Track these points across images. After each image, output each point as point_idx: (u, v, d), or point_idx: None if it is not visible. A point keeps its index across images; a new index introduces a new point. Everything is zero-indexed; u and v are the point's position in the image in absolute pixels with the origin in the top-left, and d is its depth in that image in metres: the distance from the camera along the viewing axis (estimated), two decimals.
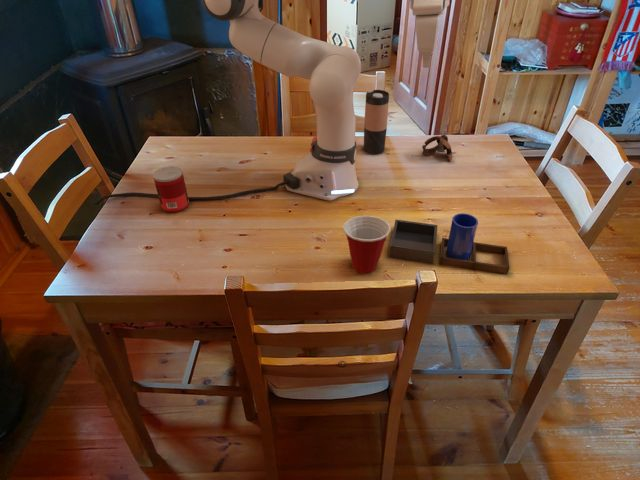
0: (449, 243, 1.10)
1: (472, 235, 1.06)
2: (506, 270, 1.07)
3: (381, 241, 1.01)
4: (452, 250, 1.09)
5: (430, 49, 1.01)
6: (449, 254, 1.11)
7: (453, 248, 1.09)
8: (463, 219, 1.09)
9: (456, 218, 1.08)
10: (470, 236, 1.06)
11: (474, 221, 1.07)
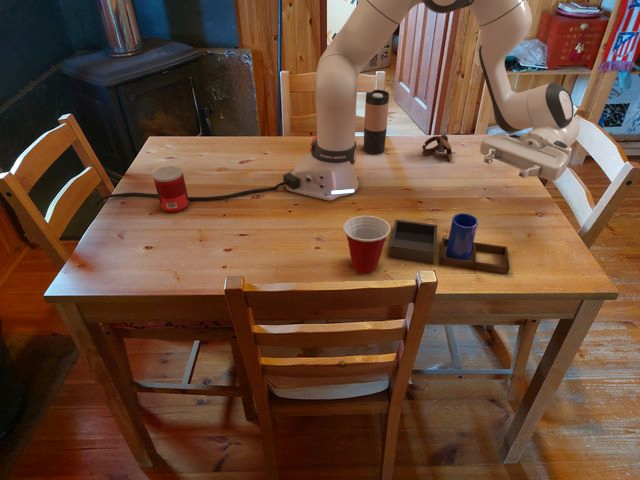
0: (449, 243, 1.10)
1: (472, 235, 1.06)
2: (506, 270, 1.07)
3: (381, 241, 1.01)
4: (452, 250, 1.09)
5: (554, 178, 1.04)
6: (449, 254, 1.11)
7: (453, 248, 1.09)
8: (463, 219, 1.09)
9: (456, 218, 1.08)
10: (470, 236, 1.06)
11: (474, 221, 1.07)
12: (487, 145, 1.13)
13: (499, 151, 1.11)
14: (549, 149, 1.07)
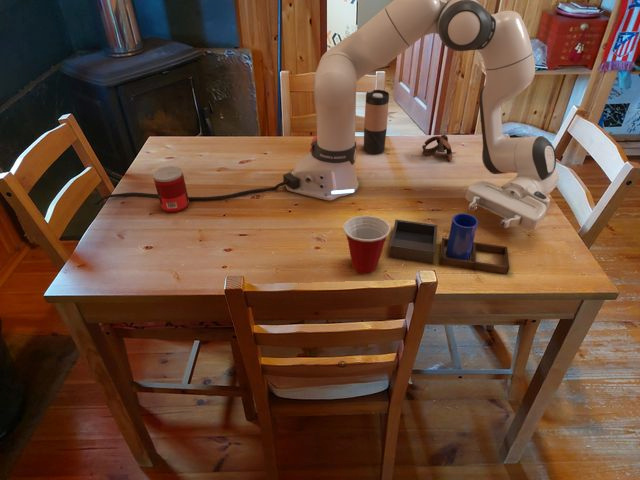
0: (449, 243, 1.10)
1: (472, 235, 1.06)
2: (506, 270, 1.07)
3: (381, 241, 1.01)
4: (452, 250, 1.09)
5: (533, 228, 1.11)
6: (449, 254, 1.11)
7: (453, 248, 1.09)
8: (463, 219, 1.09)
9: (456, 218, 1.08)
10: (470, 236, 1.06)
11: (474, 221, 1.07)
12: (471, 193, 1.20)
13: (483, 199, 1.18)
14: (529, 199, 1.14)
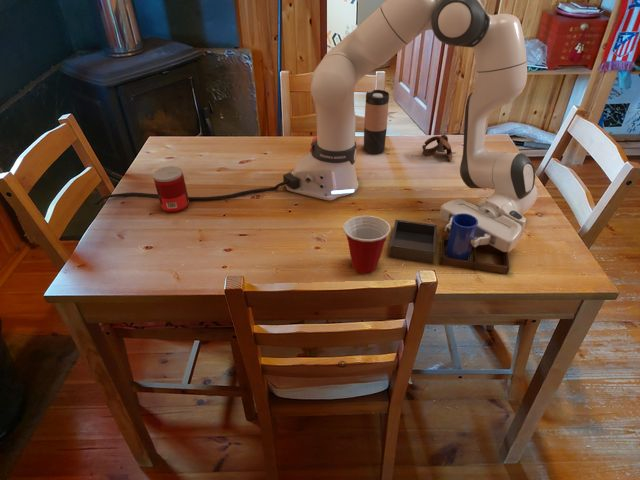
0: (449, 243, 1.10)
1: (472, 235, 1.06)
2: (506, 270, 1.07)
3: (381, 241, 1.01)
4: (452, 250, 1.09)
5: (507, 250, 1.06)
6: (449, 254, 1.11)
7: (453, 248, 1.09)
8: (463, 219, 1.09)
9: (456, 218, 1.08)
10: (470, 236, 1.06)
11: (474, 221, 1.07)
12: (445, 211, 1.15)
13: None
14: (504, 219, 1.10)
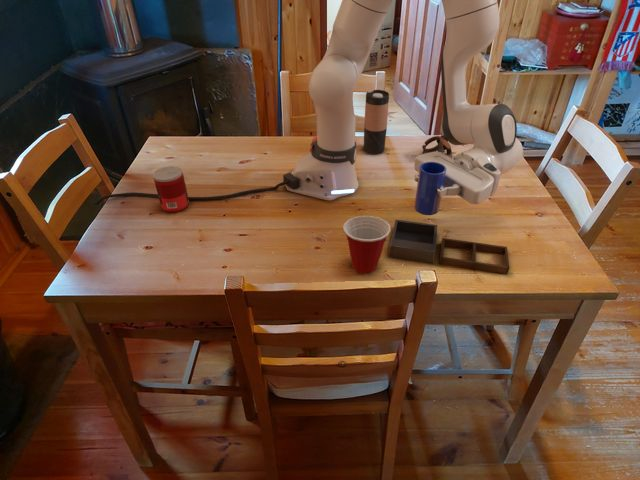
0: (417, 193, 1.05)
1: (439, 183, 1.01)
2: (506, 270, 1.07)
3: (381, 241, 1.01)
4: (419, 200, 1.05)
5: (475, 202, 1.00)
6: (417, 205, 1.06)
7: (420, 198, 1.04)
8: (433, 168, 1.04)
9: (425, 166, 1.04)
10: (436, 185, 1.01)
11: (443, 170, 1.02)
12: (419, 162, 1.10)
13: None
14: (478, 171, 1.04)
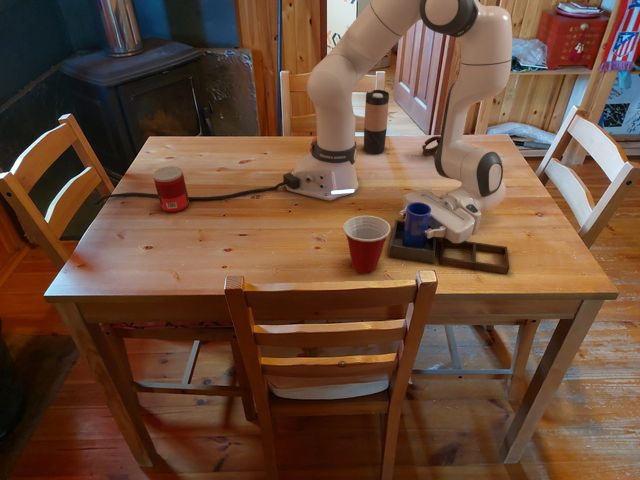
0: (404, 230, 1.13)
1: (424, 223, 1.09)
2: (506, 270, 1.07)
3: (381, 241, 1.01)
4: (406, 237, 1.13)
5: (457, 241, 1.08)
6: (404, 241, 1.14)
7: (407, 235, 1.12)
8: (419, 208, 1.12)
9: (412, 206, 1.11)
10: (421, 225, 1.09)
11: (428, 210, 1.10)
12: (407, 201, 1.18)
13: None
14: (460, 212, 1.11)
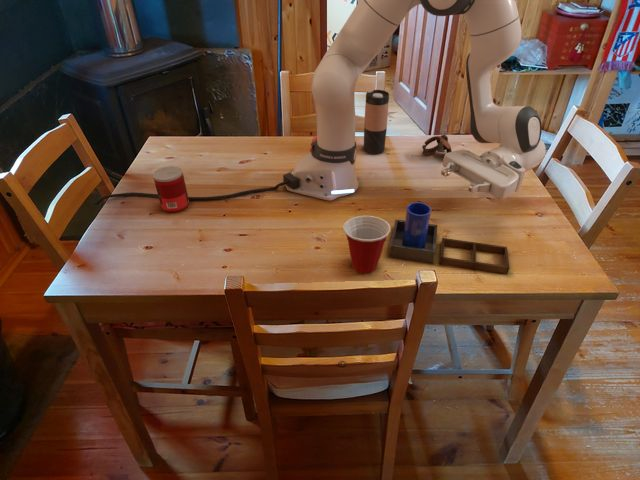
0: (404, 230, 1.13)
1: (424, 223, 1.09)
2: (506, 270, 1.07)
3: (381, 241, 1.01)
4: (406, 237, 1.13)
5: (501, 196, 1.08)
6: (404, 241, 1.14)
7: (407, 235, 1.12)
8: (419, 208, 1.12)
9: (412, 206, 1.11)
10: (421, 225, 1.09)
11: (428, 210, 1.10)
12: (448, 159, 1.18)
13: (458, 166, 1.17)
14: (503, 168, 1.12)
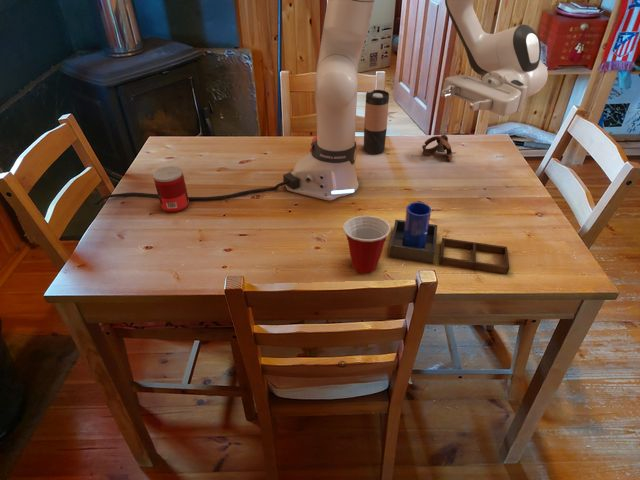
0: (404, 230, 1.13)
1: (424, 223, 1.09)
2: (506, 270, 1.07)
3: (381, 241, 1.01)
4: (406, 237, 1.13)
5: (503, 112, 1.06)
6: (404, 241, 1.14)
7: (407, 235, 1.12)
8: (419, 208, 1.12)
9: (412, 206, 1.11)
10: (421, 225, 1.09)
11: (428, 210, 1.10)
12: (448, 82, 1.16)
13: (458, 88, 1.14)
14: (505, 87, 1.09)
